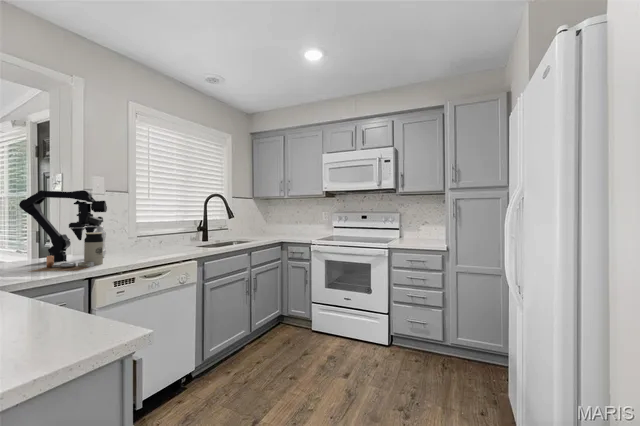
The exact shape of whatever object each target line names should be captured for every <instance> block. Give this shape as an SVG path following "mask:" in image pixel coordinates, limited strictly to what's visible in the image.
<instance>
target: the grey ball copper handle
mask: <svg viewBox="0 0 640 426" xmlns="http://www.w3.org/2000/svg"><path fill="white" fill-rule="evenodd" d="M76 266H77V263H76V262H71V261H70V262H63V263H61V262H60V264H55V262H54V256H49V255H47V256H46V266H45V267H47V268H49V267H60V268H70V267H76Z"/></svg>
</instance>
